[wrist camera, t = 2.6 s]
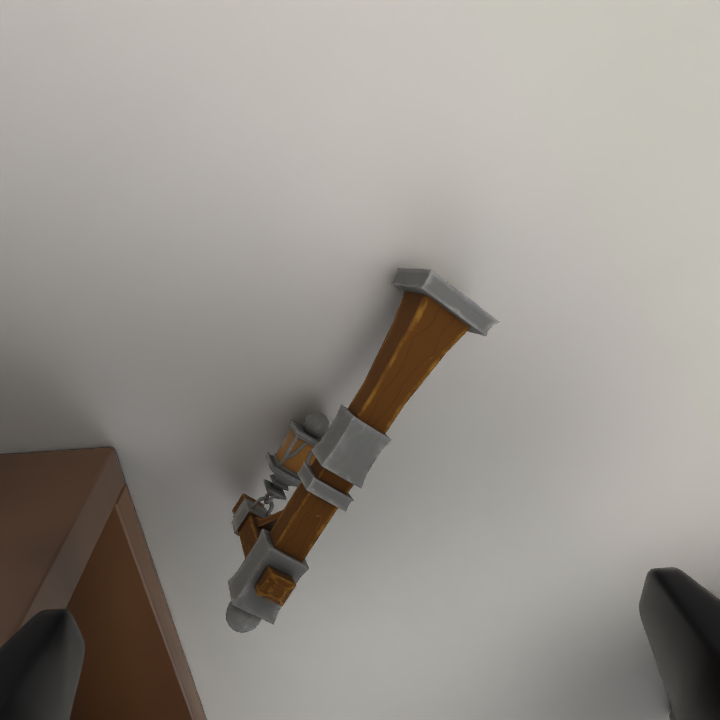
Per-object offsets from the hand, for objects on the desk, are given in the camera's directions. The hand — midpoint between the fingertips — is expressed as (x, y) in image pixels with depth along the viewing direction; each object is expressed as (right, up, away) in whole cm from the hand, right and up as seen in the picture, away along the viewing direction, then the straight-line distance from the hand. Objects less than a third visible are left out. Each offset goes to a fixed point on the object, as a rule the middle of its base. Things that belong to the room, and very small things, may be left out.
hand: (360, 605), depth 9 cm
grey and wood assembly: (0, +3, +5) cm, 6 cm away
